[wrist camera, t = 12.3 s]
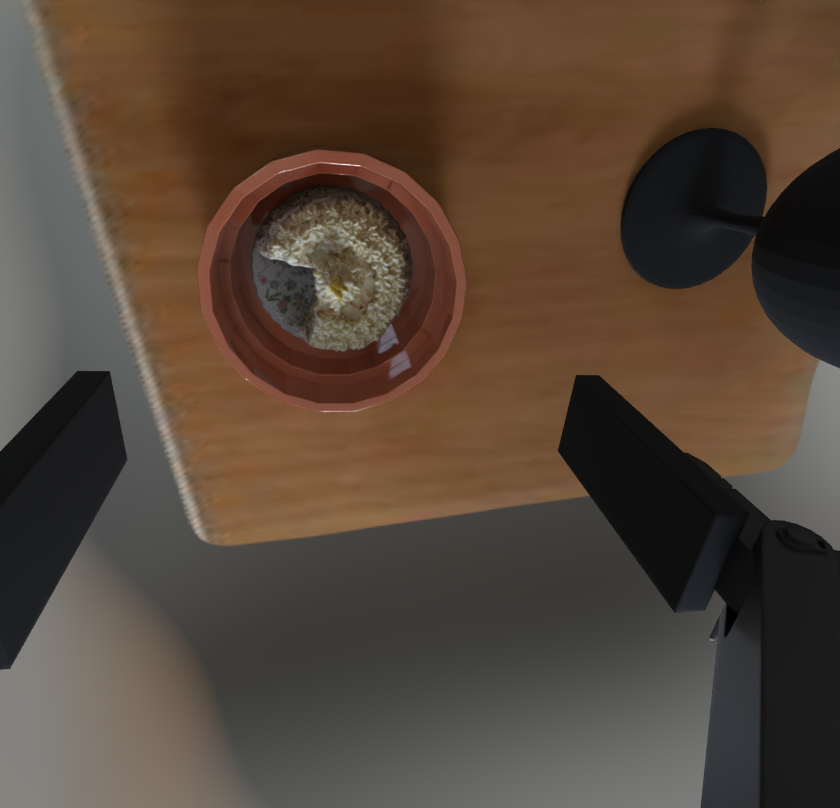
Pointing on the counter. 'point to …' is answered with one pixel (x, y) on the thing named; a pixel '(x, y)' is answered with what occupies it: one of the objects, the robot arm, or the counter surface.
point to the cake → (332, 267)
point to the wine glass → (741, 231)
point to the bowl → (291, 356)
